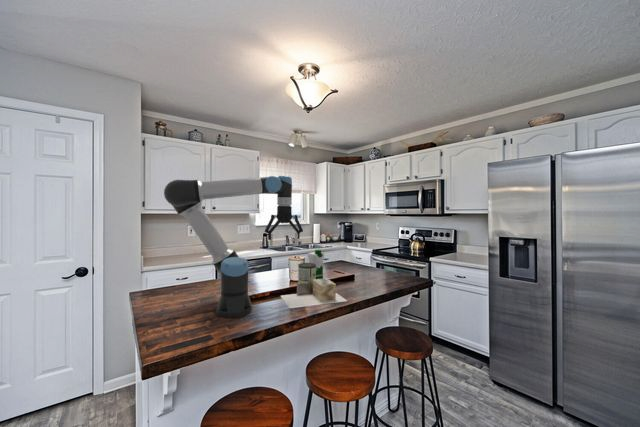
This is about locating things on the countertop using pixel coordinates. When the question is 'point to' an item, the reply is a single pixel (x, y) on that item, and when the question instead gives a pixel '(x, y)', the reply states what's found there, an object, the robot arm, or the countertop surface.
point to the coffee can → (306, 273)
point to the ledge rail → (305, 288)
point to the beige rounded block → (324, 289)
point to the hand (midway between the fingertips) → (283, 245)
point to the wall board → (307, 300)
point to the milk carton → (317, 262)
